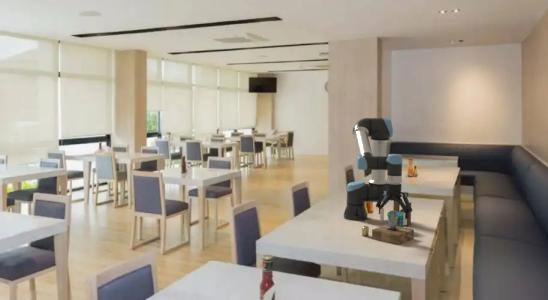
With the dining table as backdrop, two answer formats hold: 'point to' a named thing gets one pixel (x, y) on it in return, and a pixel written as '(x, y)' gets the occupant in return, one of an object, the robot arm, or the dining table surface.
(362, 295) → the dining table surface
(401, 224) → the snack cup
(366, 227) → the short brass pin
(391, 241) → the hole block
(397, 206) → the brown forked bracket
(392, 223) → the long steel pin
